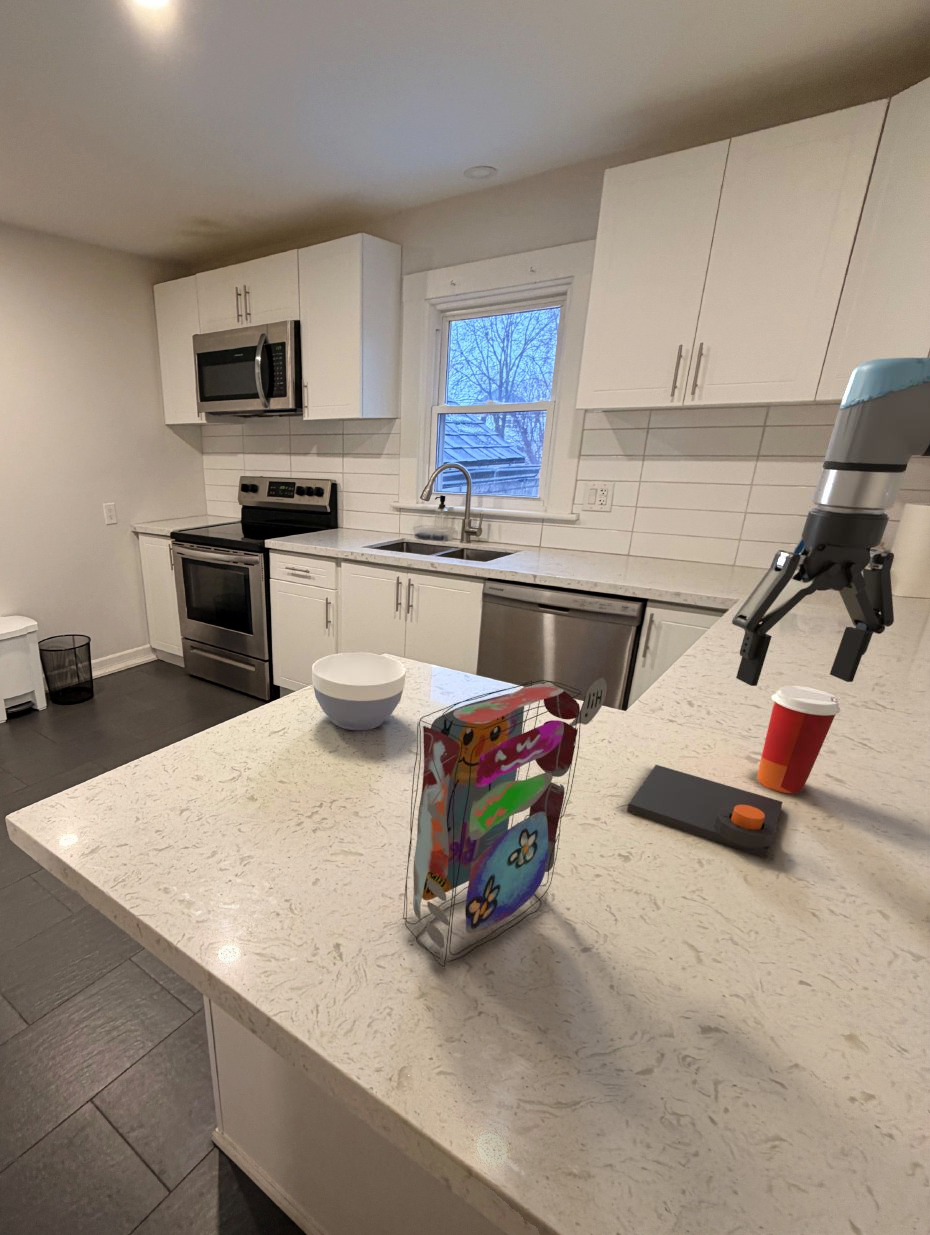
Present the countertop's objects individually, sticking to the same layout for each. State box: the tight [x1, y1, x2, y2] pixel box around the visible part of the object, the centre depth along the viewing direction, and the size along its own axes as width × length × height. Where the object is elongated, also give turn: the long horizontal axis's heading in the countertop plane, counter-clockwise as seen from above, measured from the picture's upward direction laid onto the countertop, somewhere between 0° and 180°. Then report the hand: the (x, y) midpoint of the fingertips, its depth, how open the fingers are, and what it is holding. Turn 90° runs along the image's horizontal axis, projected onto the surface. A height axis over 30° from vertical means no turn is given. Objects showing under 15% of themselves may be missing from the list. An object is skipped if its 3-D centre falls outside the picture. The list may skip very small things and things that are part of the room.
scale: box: [626, 764, 783, 859], centre depth 85 cm, size 16×15×3 cm
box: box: [402, 677, 608, 968], centre depth 65 cm, size 25×6×24 cm, turn 126°
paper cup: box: [756, 685, 841, 794], centre depth 90 cm, size 8×8×14 cm
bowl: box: [311, 652, 407, 731], centre depth 110 cm, size 16×16×10 cm
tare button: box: [731, 805, 765, 830], centre depth 79 cm, size 3×3×2 cm
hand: (793, 680), depth 82 cm, fingers open, 13 cm apart
